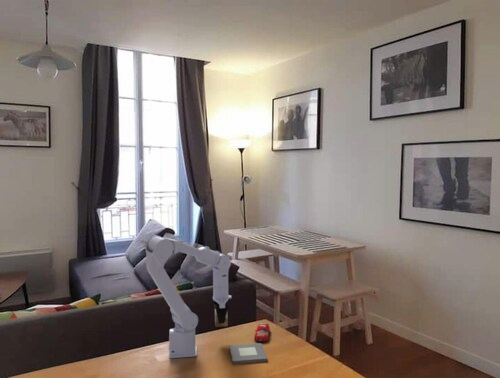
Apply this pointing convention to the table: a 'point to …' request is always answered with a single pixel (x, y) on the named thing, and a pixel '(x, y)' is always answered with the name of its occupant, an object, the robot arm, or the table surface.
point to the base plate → (247, 353)
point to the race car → (262, 332)
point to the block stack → (221, 323)
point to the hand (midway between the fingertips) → (221, 320)
